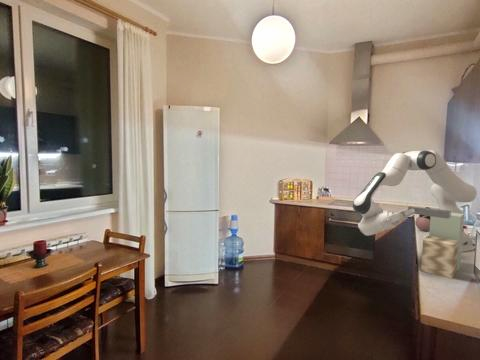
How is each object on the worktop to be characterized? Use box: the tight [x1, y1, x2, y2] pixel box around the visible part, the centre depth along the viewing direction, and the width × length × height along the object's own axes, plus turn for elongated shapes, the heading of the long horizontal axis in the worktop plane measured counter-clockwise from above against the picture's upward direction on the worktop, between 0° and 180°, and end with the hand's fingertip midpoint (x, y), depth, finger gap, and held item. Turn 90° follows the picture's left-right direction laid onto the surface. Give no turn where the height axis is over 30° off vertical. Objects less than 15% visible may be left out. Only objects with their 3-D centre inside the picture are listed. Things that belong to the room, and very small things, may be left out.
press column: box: [428, 213, 465, 272], centre depth 148 cm, size 12×10×26 cm
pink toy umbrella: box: [414, 216, 430, 232], centre depth 221 cm, size 12×12×11 cm
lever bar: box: [407, 206, 451, 219], centre depth 142 cm, size 17×5×3 cm, turn 46°
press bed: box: [420, 235, 458, 279], centre depth 140 cm, size 12×10×15 cm
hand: (416, 209), depth 146 cm, fingers closed on lever bar, 2 cm apart
